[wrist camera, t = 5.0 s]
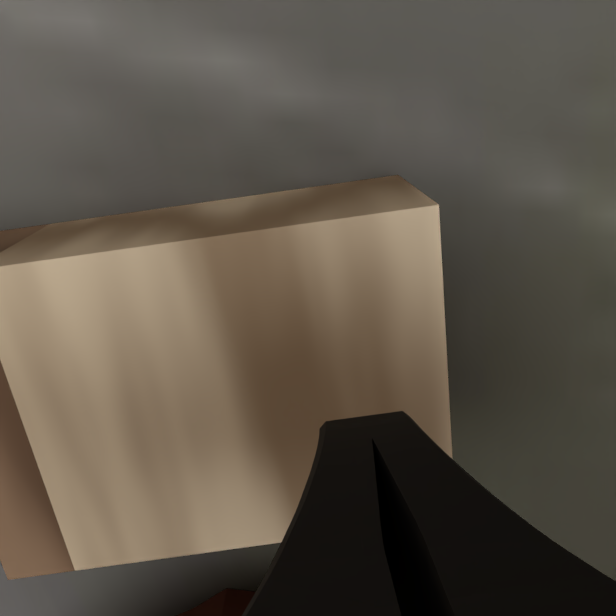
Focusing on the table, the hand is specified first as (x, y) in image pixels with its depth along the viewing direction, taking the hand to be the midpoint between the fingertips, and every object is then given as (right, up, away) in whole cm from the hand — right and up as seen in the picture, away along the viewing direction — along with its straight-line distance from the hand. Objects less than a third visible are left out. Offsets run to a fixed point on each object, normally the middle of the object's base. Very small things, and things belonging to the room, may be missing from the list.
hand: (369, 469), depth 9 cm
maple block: (+2, +2, +4) cm, 5 cm away
